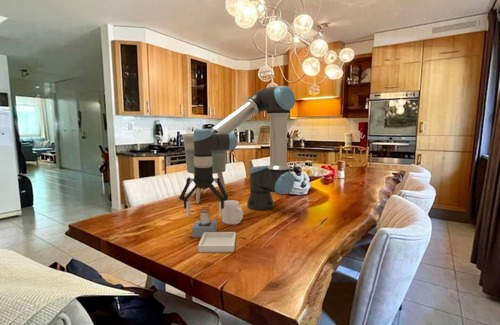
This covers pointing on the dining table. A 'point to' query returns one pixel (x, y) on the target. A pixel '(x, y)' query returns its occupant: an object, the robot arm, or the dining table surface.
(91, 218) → the dining table surface
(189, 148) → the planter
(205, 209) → the spice jar
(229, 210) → the mug
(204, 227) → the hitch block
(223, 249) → the tray
